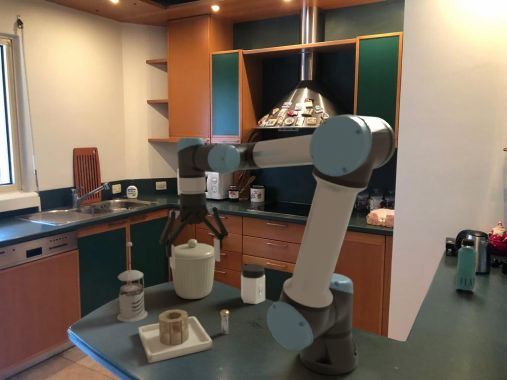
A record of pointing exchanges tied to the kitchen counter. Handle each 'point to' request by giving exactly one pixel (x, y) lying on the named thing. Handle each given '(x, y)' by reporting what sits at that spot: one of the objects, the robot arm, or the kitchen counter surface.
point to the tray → (161, 352)
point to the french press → (131, 296)
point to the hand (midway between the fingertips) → (195, 263)
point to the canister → (193, 269)
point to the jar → (253, 284)
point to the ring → (173, 327)
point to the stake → (224, 321)
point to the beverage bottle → (466, 266)
